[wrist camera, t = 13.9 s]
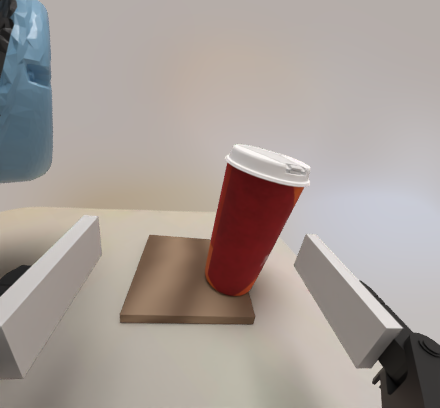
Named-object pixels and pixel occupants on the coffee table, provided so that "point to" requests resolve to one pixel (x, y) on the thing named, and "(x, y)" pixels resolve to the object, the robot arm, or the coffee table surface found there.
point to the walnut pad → (180, 287)
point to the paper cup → (251, 215)
